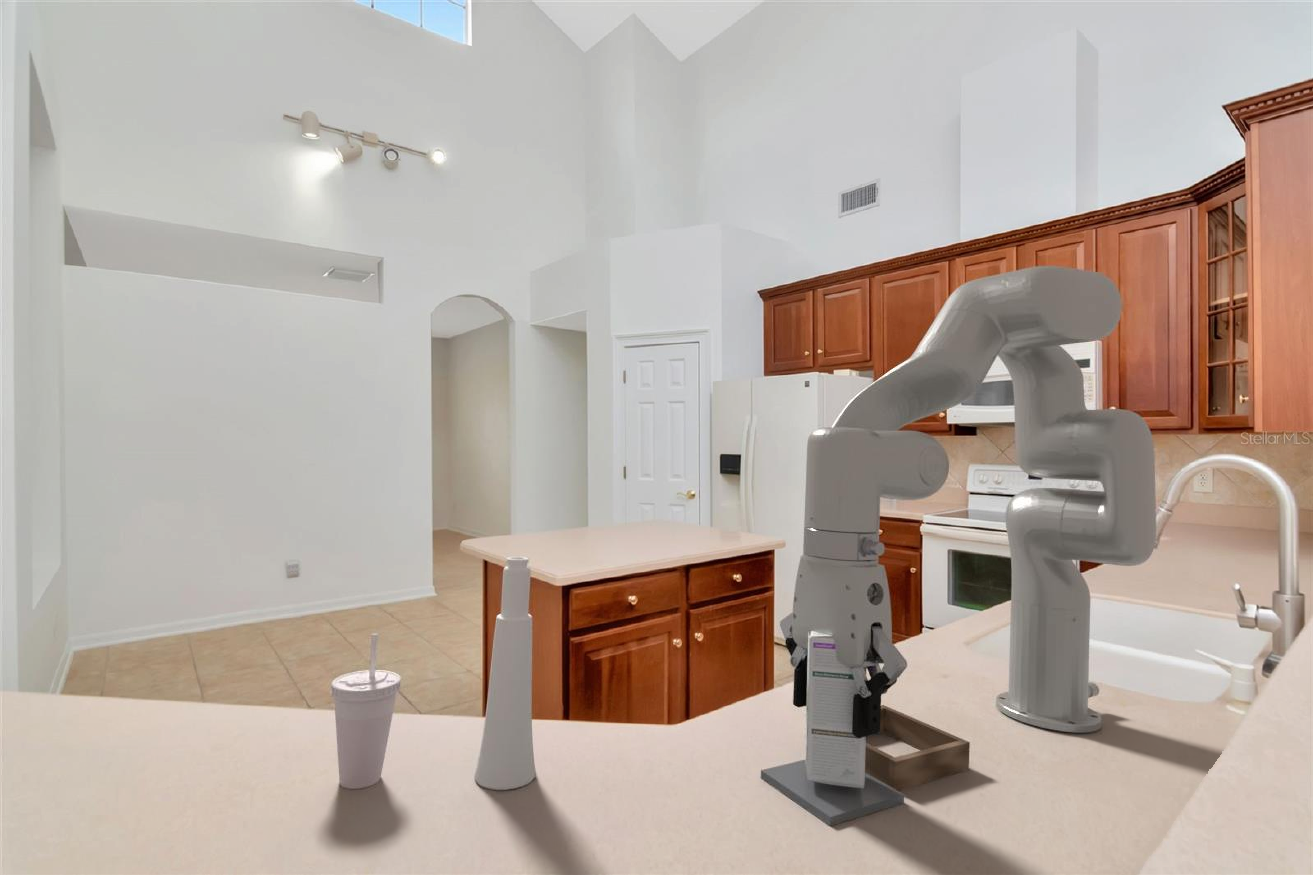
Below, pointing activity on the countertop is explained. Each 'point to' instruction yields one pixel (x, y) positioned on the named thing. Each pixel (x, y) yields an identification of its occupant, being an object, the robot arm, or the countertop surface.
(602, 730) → the countertop surface
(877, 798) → the plate
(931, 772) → the brown wooden square frame
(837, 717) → the syrup box
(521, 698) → the cosmetic bottle
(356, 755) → the smoothie
